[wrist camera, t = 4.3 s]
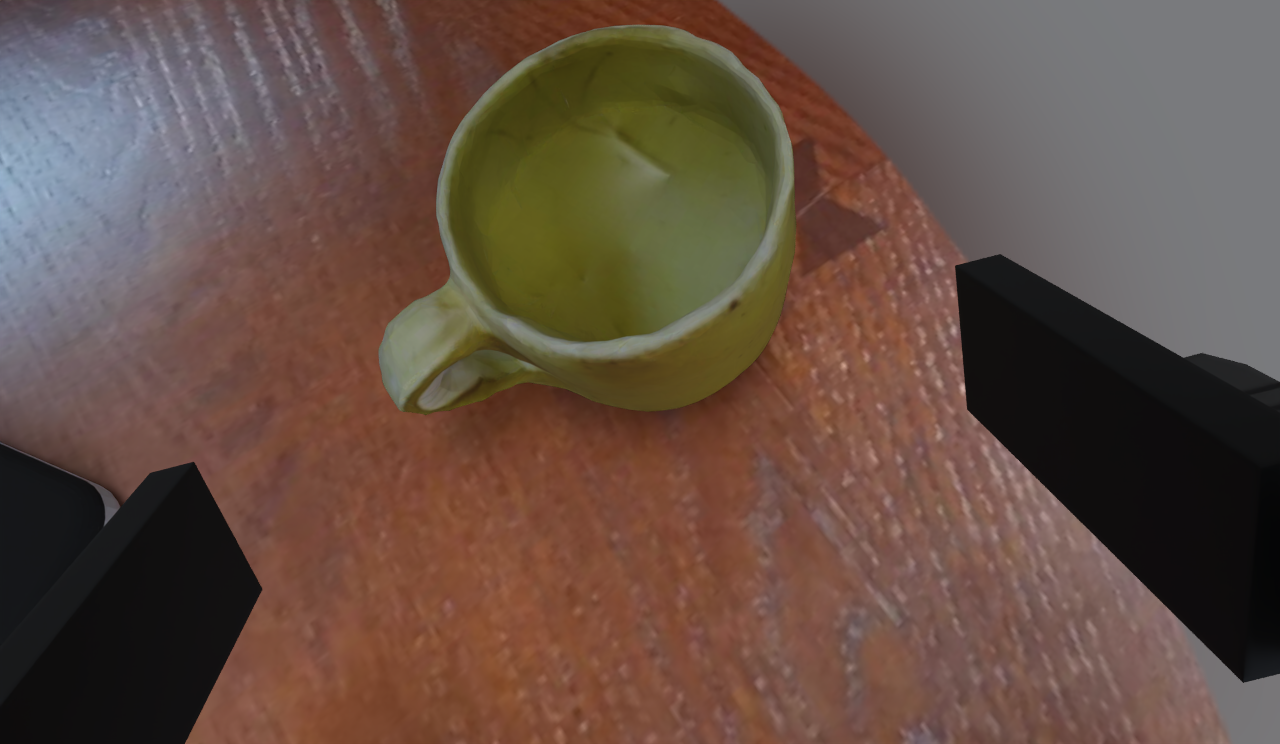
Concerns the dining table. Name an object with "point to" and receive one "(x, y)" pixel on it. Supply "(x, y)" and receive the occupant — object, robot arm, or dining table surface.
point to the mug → (605, 230)
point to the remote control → (42, 529)
